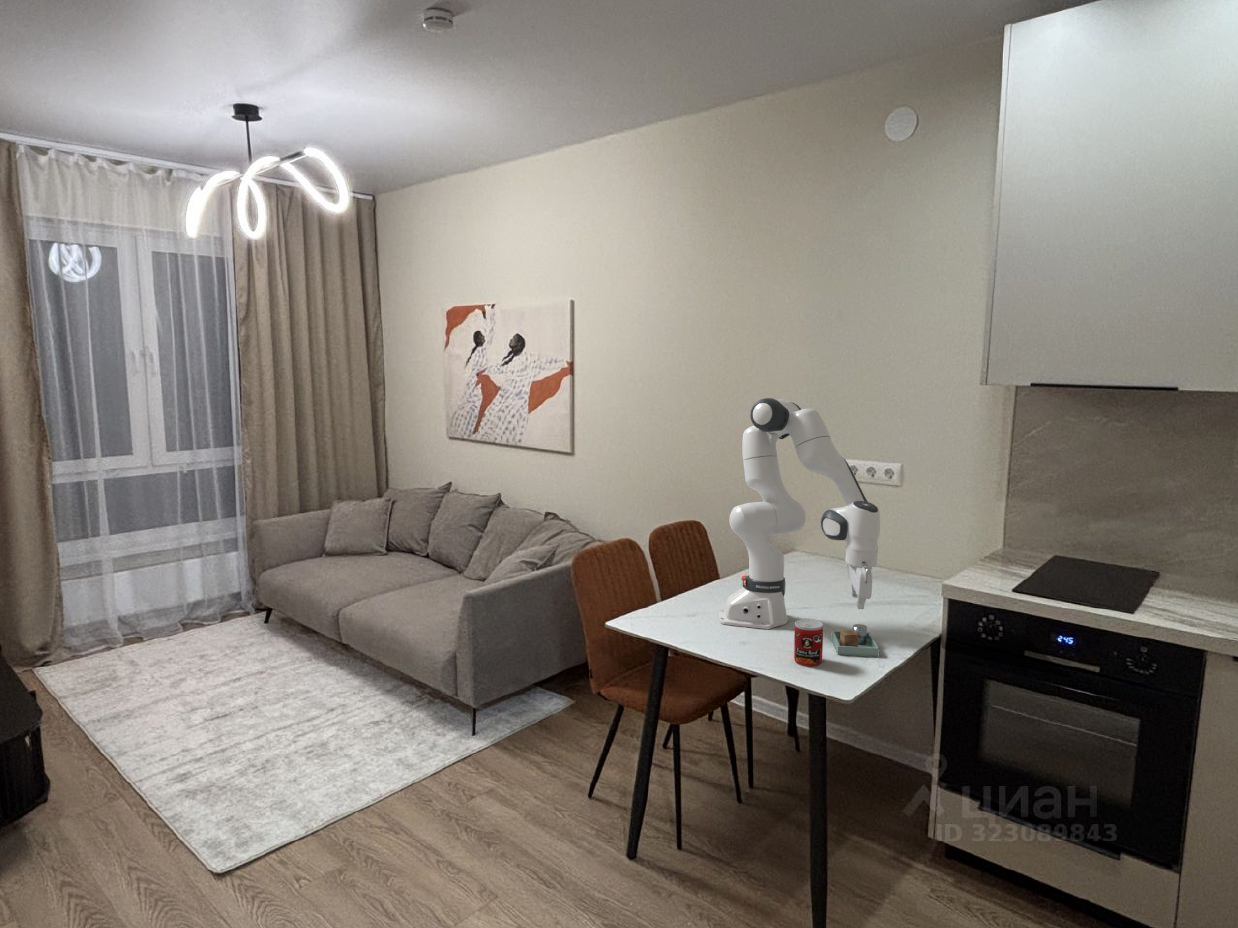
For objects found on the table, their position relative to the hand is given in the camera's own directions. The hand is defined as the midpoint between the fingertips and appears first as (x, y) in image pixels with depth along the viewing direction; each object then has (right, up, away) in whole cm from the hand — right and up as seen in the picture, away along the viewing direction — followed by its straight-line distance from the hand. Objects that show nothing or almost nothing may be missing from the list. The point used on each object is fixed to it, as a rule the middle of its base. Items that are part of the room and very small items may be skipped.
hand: (857, 602), depth 222 cm
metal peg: (+1, -12, +1) cm, 12 cm away
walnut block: (-4, -13, -4) cm, 14 cm away
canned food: (-17, -15, -11) cm, 26 cm away
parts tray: (-1, -13, -1) cm, 13 cm away
